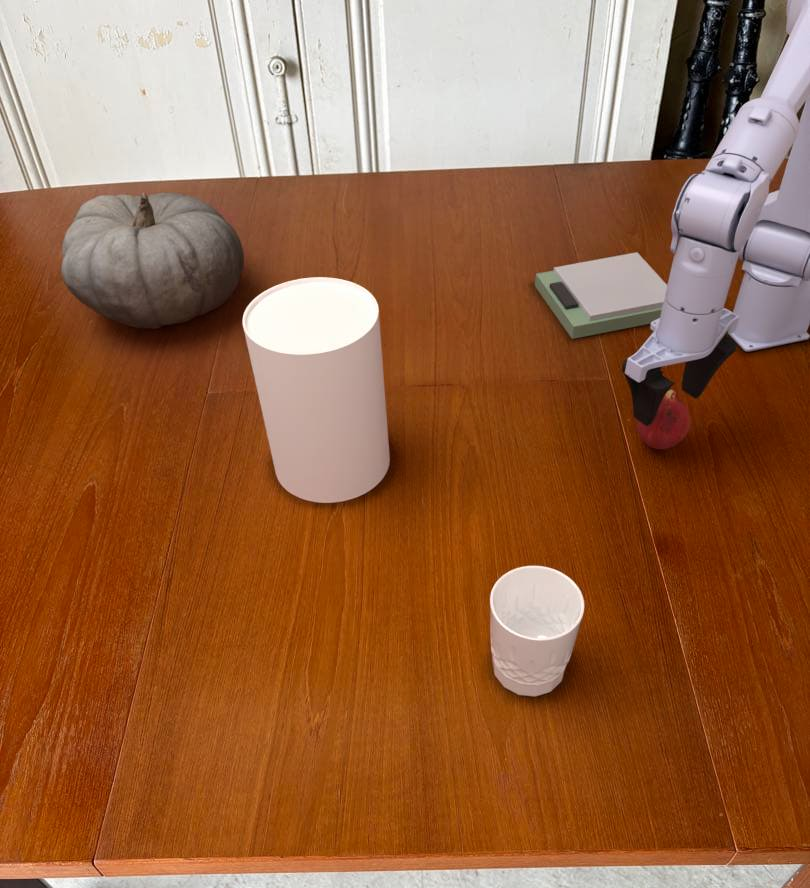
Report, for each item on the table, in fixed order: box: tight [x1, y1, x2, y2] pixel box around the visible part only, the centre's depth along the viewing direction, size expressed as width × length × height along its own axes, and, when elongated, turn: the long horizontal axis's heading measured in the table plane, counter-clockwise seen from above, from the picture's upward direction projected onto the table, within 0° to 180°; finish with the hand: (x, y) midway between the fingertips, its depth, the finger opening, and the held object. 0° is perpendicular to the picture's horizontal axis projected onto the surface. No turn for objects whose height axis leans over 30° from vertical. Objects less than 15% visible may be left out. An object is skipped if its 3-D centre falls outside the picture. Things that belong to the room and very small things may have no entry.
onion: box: [636, 389, 691, 450], centre depth 92 cm, size 6×6×8 cm
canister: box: [242, 276, 391, 504], centre depth 88 cm, size 14×14×20 cm
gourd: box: [60, 191, 245, 330], centre depth 114 cm, size 25×25×17 cm
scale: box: [534, 251, 668, 340], centre depth 115 cm, size 16×14×3 cm
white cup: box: [489, 565, 585, 697], centre depth 72 cm, size 8×8×10 cm
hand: (666, 406), depth 91 cm, fingers open, 7 cm apart
